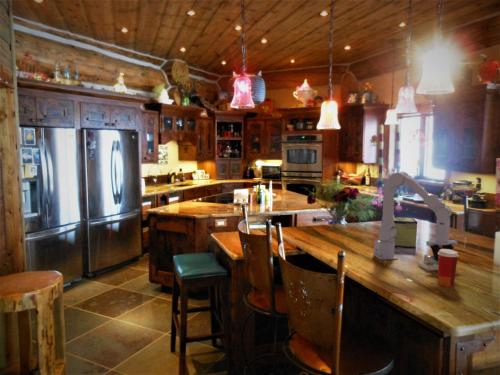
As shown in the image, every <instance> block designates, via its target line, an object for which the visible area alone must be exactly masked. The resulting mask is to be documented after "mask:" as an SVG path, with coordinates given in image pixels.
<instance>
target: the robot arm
mask: <svg viewBox="0 0 500 375" xmlns="http://www.w3.org/2000/svg"><path fill="white" fill-rule="evenodd" d="M401 186H402V187H405V188H410V189H411V190H412V191H413V192H415V193H416V194H417V195H418V196H419V197H421V199H422V201H423V203H424V204H425V205H426V206H427V207H428V209H430V210H431V211H432V212H433V213H434V215H435V216H436V222H435V223H436V224H435V234H434V235H435V237H434V238H435V239H433V240H426V242H425V243H426V245H425V246H428V247H429V248H430V249H431V251H432V254H433V255H432V256H434V260H436V261H438V252H439V250H440V249H449V250H454V248H455V247H454V246H458V241H457V240H455V239H450V232H451V231H450V230H451V215H452V212H453V211H452V209H451V207H450V206H449V205H447V204H446V203H445V202H443V201H441V199H440V198H438V197H439V196H438V195H437V194H433V193H429V192H428V191H426V190H425V188H423V187H422V185H420V184H419V183H418V182H417V180H415V179H414V177H413V176H411V175H409V174H408V173H407V172H405V171H399V172H394V173H392V174H391V175H389V176H388V179H387V180H386V182H385V183H384V185H383V187H382V188H383V190H382V191H383V192H382V196H383V197H382V222H381V225H380V229H379V231H378V237H379V239H378V240H375V241H374V245H373V246H374V247H373V254H372V255H373V257H375V258H377V259H378V260H398V259H399V258H398V257H396V256H395V239H394V237H395V236H396V234H397V231H396V228H395V223H394V214H395V212H394V210H395V190H397V189H398V188H399V187H401ZM440 246H442V247H440Z"/></svg>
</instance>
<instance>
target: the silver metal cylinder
mask: <svg viewBox="0 0 500 375" xmlns="http://www.w3.org/2000/svg"><path fill="white" fill-rule="evenodd" d="M423 261H424V264H426V265H428V266H429V265H433V262H434V255H430V254H424V257H423Z"/></svg>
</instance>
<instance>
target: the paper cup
mask: <svg viewBox="0 0 500 375" xmlns="http://www.w3.org/2000/svg"><path fill="white" fill-rule="evenodd" d="M458 253H459V252H458V251H457V250H454V249H453V250H449V249H443V248H441V249H440V250H439V252H438V270H437V272H438V275H437V276H438V284H439V285H440V286H442V287H446V288H452V287H454V285H455V279H456V278H455V277H456V272H457V264H458V263H457V262H458V258H459V257H460V256H459V255H460V254H458Z"/></svg>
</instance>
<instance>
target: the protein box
mask: <svg viewBox="0 0 500 375" xmlns="http://www.w3.org/2000/svg"><path fill="white" fill-rule="evenodd" d="M394 223H395V228H396V231H397V234H396V236H395V237H394V239H395V248H396V249H409V250H410V249H411V250H416V248H417V235H418V234H417V232H418V221H417V220H416V219H415V218H413V217H394Z"/></svg>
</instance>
